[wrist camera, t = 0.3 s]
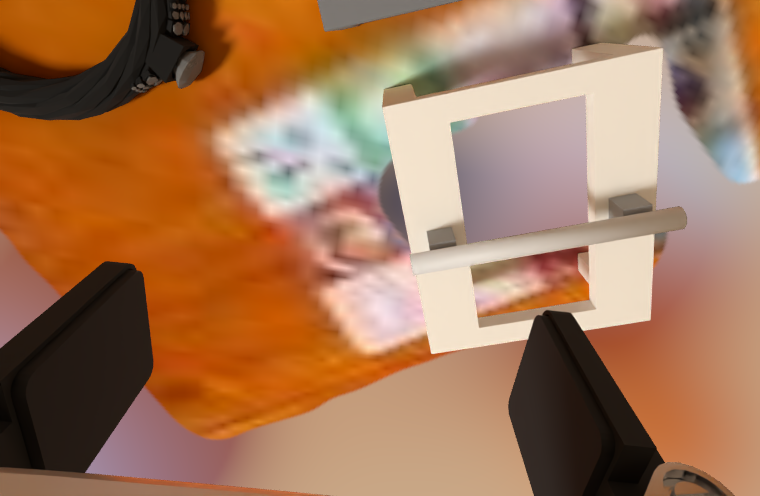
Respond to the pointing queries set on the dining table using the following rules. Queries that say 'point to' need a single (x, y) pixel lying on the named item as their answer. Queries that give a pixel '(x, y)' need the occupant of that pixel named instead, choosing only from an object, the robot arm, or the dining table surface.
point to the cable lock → (113, 69)
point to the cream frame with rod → (602, 232)
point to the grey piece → (368, 10)
